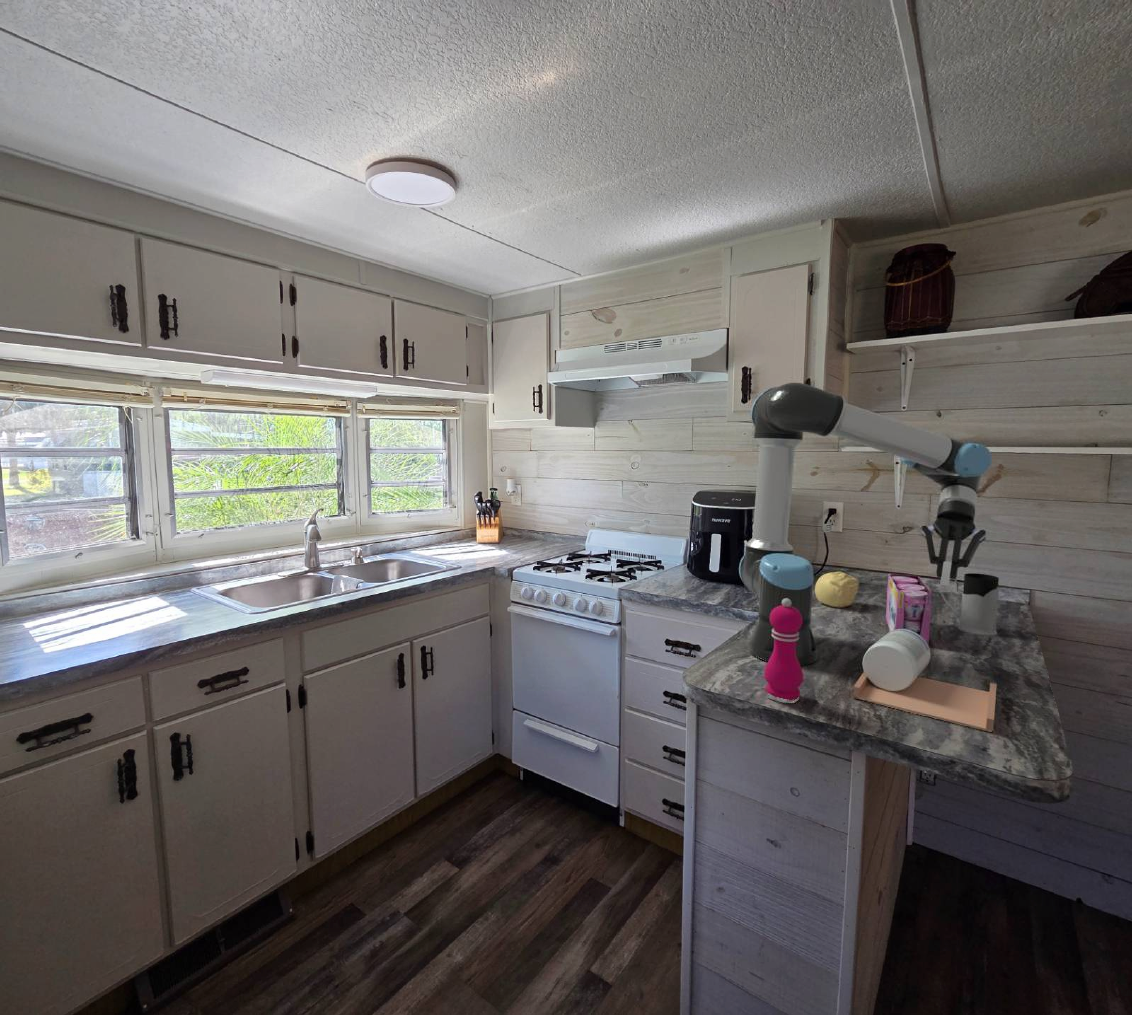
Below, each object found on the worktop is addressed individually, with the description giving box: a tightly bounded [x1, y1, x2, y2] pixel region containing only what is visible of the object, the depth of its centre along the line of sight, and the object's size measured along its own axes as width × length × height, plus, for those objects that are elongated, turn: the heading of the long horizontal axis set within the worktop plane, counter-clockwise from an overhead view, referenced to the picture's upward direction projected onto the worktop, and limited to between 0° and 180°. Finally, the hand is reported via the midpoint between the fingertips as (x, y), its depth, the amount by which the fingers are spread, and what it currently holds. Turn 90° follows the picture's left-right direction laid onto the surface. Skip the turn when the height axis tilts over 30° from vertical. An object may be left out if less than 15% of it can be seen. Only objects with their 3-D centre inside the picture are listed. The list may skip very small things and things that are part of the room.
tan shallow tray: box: [852, 671, 998, 732], centre depth 111 cm, size 19×22×2 cm
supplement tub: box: [862, 629, 931, 691], centre depth 118 cm, size 10×10×15 cm
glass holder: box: [939, 572, 1000, 636], centre depth 155 cm, size 9×14×15 cm, turn 33°
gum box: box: [885, 573, 932, 646], centre depth 151 cm, size 24×8×14 cm, turn 155°
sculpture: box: [814, 571, 860, 608], centre depth 178 cm, size 11×12×11 cm
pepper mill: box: [763, 598, 804, 700], centre depth 110 cm, size 7×7×20 cm
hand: (944, 588), depth 126 cm, fingers closed
